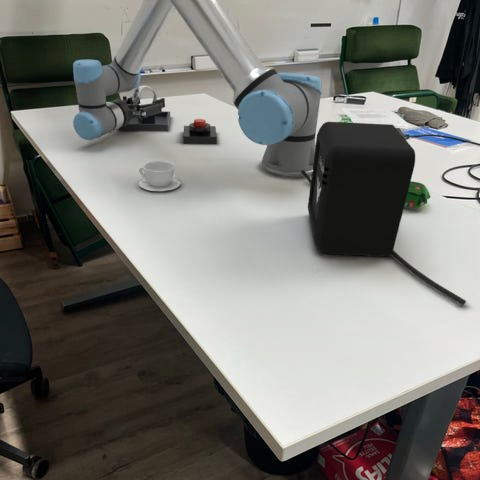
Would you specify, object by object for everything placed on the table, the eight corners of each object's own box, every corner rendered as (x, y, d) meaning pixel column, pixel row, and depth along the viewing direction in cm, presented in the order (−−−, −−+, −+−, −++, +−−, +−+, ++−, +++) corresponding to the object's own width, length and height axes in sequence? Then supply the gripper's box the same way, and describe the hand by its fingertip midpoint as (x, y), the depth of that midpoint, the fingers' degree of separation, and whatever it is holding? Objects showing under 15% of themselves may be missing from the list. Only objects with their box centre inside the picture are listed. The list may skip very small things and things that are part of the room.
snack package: (362, 191, 117) (366, 171, 114) (428, 203, 113) (434, 181, 110) (356, 202, 112) (360, 180, 109) (425, 214, 108) (432, 192, 105)
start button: (205, 128, 145) (205, 122, 144) (194, 127, 145) (193, 121, 144) (205, 124, 148) (205, 119, 147) (194, 124, 148) (193, 118, 147)
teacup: (186, 181, 119) (185, 162, 116) (171, 195, 111) (170, 175, 108) (149, 175, 121) (147, 157, 118) (131, 189, 113) (129, 170, 110)
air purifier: (305, 213, 106) (317, 118, 94) (371, 216, 106) (391, 121, 94) (312, 257, 90) (328, 149, 78) (390, 261, 89) (418, 153, 78)
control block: (216, 144, 144) (216, 130, 142) (183, 143, 144) (183, 130, 141) (215, 133, 154) (215, 120, 152) (184, 132, 153) (183, 119, 151)
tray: (168, 131, 154) (167, 124, 153) (118, 130, 153) (118, 124, 151) (170, 117, 168) (170, 111, 167) (125, 116, 167) (124, 110, 166)
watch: (132, 120, 161) (129, 85, 154) (155, 119, 163) (153, 84, 157) (136, 125, 157) (133, 88, 150) (160, 123, 159) (158, 87, 153)
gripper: (85, 124, 148) (124, 108, 165) (146, 133, 142) (180, 116, 159) (81, 97, 143) (122, 85, 161) (144, 106, 138) (179, 92, 155)
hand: (151, 100), depth 160 cm, fingers open, 9 cm apart
